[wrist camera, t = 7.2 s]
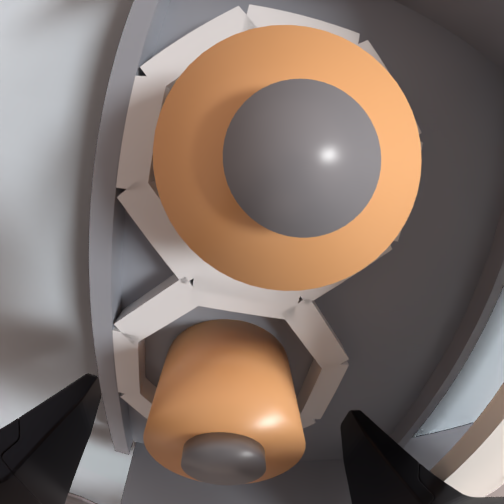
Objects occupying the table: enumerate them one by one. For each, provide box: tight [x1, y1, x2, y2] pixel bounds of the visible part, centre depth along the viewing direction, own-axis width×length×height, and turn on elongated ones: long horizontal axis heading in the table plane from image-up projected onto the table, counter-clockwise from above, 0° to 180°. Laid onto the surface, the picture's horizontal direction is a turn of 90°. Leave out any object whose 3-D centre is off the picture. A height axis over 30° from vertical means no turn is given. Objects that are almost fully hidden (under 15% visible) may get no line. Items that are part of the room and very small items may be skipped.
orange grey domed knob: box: [153, 25, 422, 291], centre depth 6 cm, size 5×5×5 cm
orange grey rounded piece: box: [143, 319, 306, 485], centre depth 9 cm, size 5×5×5 cm
